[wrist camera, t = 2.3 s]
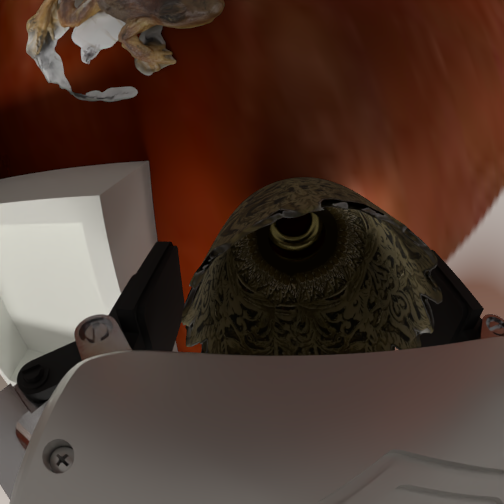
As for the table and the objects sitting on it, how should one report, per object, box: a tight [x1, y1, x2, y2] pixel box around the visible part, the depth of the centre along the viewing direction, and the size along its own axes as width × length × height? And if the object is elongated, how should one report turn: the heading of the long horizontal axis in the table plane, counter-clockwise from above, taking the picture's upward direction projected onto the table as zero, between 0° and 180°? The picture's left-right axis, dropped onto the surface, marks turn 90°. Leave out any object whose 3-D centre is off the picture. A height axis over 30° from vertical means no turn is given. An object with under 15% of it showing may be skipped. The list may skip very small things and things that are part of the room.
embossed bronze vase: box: [181, 177, 442, 356], centre depth 11 cm, size 8×7×8 cm
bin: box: [0, 161, 178, 386], centre depth 15 cm, size 16×16×5 cm
